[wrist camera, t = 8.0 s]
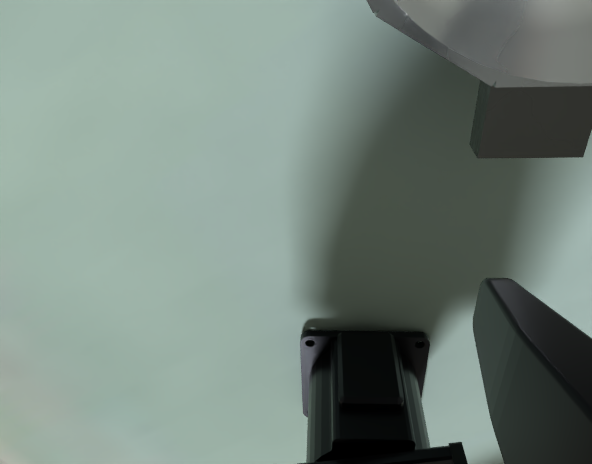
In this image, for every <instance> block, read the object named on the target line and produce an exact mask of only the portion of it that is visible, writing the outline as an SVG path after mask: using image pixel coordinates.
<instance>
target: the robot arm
mask: <svg viewBox="0 0 592 464" xmlns="http://www.w3.org/2000/svg"><path fill="white" fill-rule="evenodd" d="M473 332H474V337H475V342H476V347H477V353H478V358H479V363H480V368H481V373H482V378H483V383H484V388H485V393H486V399H487V404H488V408H489V413H490V418H491V421H492V425H493V428H494V432H495V435H496V438H497V441H498V444H499V448H500V451H501V454H502V457H503V460H504V463H505V464H592V338H591V337H589V336H588V335H586V334H585V333H584V332H582V331H581V330H580V329H578V328H577V327H576V326H574V325H573V324H572V323H570V322H569V321H568V320H566V319H565V318H563V317H562V316H561V315H559V314H558V313H557V312H555V311H554V310H553V309H551V308H550V307H549V306H547V305H546V304H545V303H543V302H542V301H540V300H539V299H538V298H536V297H535V296H534V295H532V294H531V293H530V292H528V291H527V290H526V289H524V288H523V287H522V286H520V285H519V284H517V283H516V282H515V281H513V280H511V279H508V278H486V279H484V280H483V281H482V283H481V285H480V288H479V293H478V297H477V302H476V307H475V311H474V316H473ZM308 340H313V341H308ZM418 341H422V342H419V343H417V342H418ZM300 347H301V373H302V399H303V414H304V415H305V416H306V417H308V430H307V460H306V463H299V464H468V463H467V460H466V456H465V453H464V449H463V446H462V442H456V443H449V446H442V447H433V448H430V443H429V438H428V433H427V428H426V422H425V417H424V412H423V407H422V402H421V396H422V390H423V384H424V378H425V372H426V365H427V359H428V353H429V347H430V343H429V338H428V336H427V334H425V333H423V332H389V331H306V332H304V333H303V334H302V335H301V341H300Z"/></svg>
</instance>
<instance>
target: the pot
mask: <svg viewBox="0 0 592 464" xmlns="http://www.w3.org/2000/svg"><path fill="white" fill-rule="evenodd" d="M367 2H368V4H369V6H370V8H371V10H372V12H373V13H375V15H376V17H378V18H380V19H381V20H383V21H384V22H386V23H388V24H389V25H391V26H393V27H394V28H396V29H398V30H399V31H401V32H403V33H404V34H406V35H407V36H409V37H411V38H412V39H414V40H416V41H417V42H419V43H421V44H422V45H424V46H426V47H427V48H429V49H430V50H432V51H434V52H435V53H437V54H439V55H440V56H442V57H444V58H445V59H447V60H449V61H450V62H452V63H453V64H455V65H457V66H458V67H460V68H462V69H463V70H465V71H467V72H468V73H470V74H472V75H473V76H475V77H476V78H478V79H480V86H479V92H478V98H477V104H476V110H475V116H474V121H473V127H472V133H471V139H470V146H471V148H472V149H473V151H474V153H475V154H476V156H477V158H555V157H583V156H584V152H585V149H586V146H587V143H588V139H589V136H590V133H591V130H592V83H585V84H578V83H556V82H544V81H538V80H533V79H528V78H522V77H517V76H512V75H509V74H506V73H503V72H500V71H497V70H494V69H491V68H488V67H485V66H483V65H480V64H478V63H476V62H474V61H472V60H470V59H468V58H466V57H464V56H462V55H460V54H459V53H457V52H455V51H453V50H451V49H449V48H448V47H446V46H445V45H444V44H442V43H441V42H440V41H438V40H437V39H435V38H434V37H433V36H431V35H430V34H428V33H427V32H426V31H424V30H423V29H422V28H421V27H420V26H419V25H418V24H416V23H415V22H414V21H413V20H412V19H411V18H410V17H409V16H408V15H407V14H406V13H405V12H404V11H403V10H402V9H401V8H400V7H399V6H398V5H397V4H396V3H395V2H394V0H367Z"/></svg>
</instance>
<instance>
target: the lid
mask: <svg viewBox="0 0 592 464" xmlns="http://www.w3.org/2000/svg"><path fill="white" fill-rule="evenodd" d="M394 2H395V3H396V4H397V5H398V6H399V7H400V8H401V9H402V10H403V11H404V12H405V13H406V14H407V15H408V16H409V17H410V18H411V19H412V20H413V21H414V22H415V23H416V24H418V25H419V26H420V27H421V28H422V29H423V30H424V31H426V32H427V33H428V34H430V35H431V36H433V37H434V38H435V39H437V40H438V41H440V42H441V43H442V44H444V45H445V46H446V47H448V48H449V49H451V50H453V51H455V52H457V53H459V54H460V55H462V56H464V57H466V58H468V59H470V60H472V61H474V62H476V63H478V64H480V65H483V66H485V67H488V68H491V69H494V70H497V71H500V72H503V73H506V74H509V75H512V76H517V77H522V78H528V79H533V80H538V81H544V82H556V83H578V84H585V83H592V0H394Z"/></svg>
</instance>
